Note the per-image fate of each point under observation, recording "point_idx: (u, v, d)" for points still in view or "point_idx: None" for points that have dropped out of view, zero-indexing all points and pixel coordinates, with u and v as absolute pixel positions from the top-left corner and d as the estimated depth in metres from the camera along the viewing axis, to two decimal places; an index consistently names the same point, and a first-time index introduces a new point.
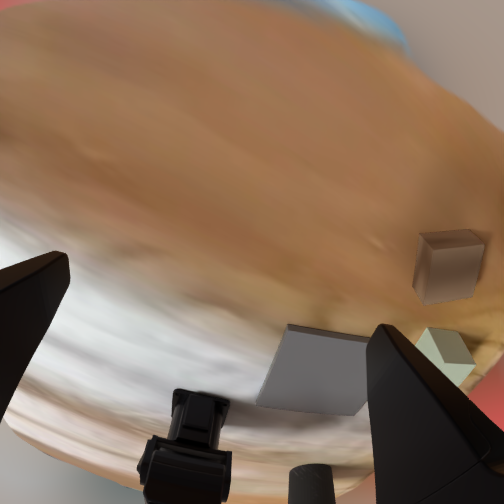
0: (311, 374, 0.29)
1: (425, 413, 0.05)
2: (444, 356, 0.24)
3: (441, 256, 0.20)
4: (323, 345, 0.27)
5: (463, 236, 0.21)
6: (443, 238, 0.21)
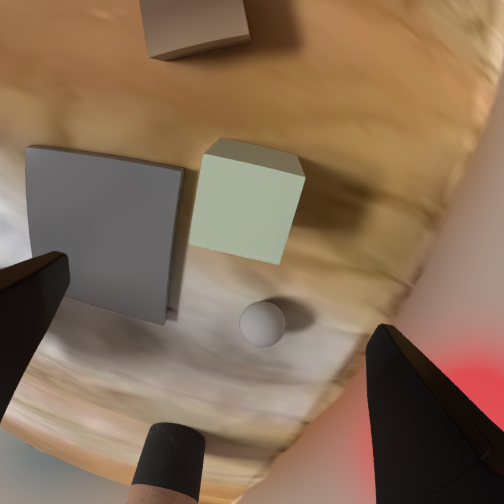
0: (67, 224, 0.20)
1: (425, 413, 0.05)
2: (216, 151, 0.14)
3: None
4: (62, 167, 0.18)
5: None
6: None
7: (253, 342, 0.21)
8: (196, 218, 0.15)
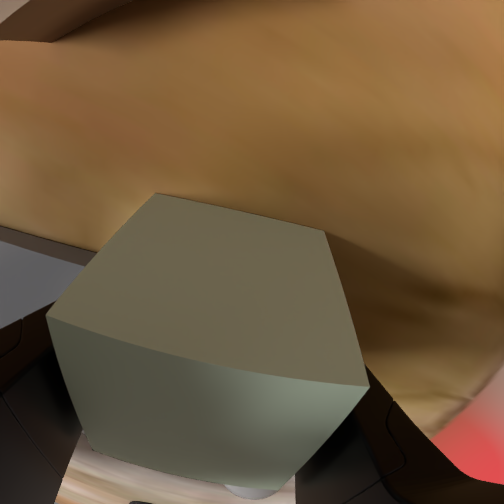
0: None
1: None
2: (97, 286, 0.04)
3: None
4: None
5: None
6: None
7: None
8: (89, 426, 0.05)
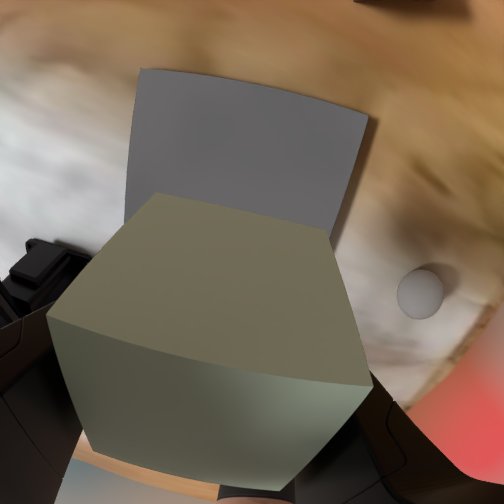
0: (194, 172, 0.17)
1: None
2: (99, 285, 0.04)
3: None
4: (202, 95, 0.15)
5: None
6: None
7: (419, 313, 0.17)
8: (89, 427, 0.05)
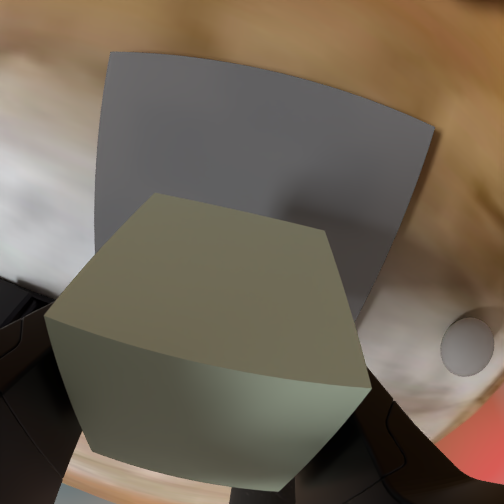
0: None
1: None
2: (96, 286, 0.04)
3: None
4: (200, 88, 0.10)
5: None
6: None
7: (467, 372, 0.12)
8: (88, 428, 0.05)
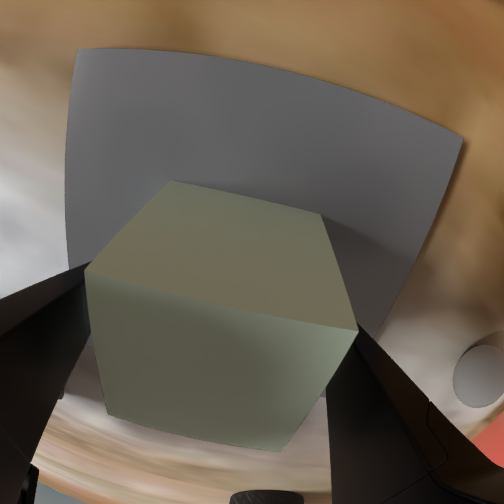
0: None
1: (377, 413, 0.05)
2: (128, 249, 0.05)
3: None
4: (181, 89, 0.08)
5: None
6: None
7: (481, 404, 0.11)
8: (108, 386, 0.06)
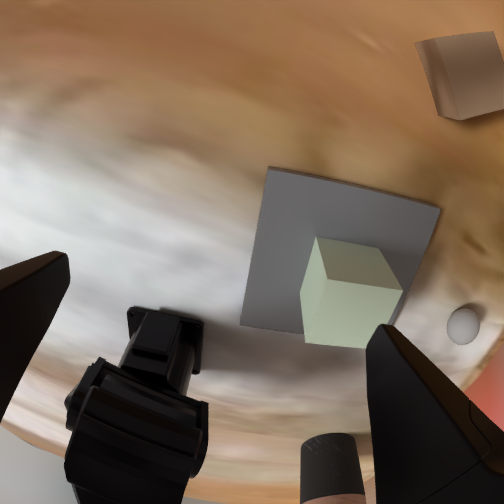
0: None
1: (425, 413, 0.05)
2: (332, 271, 0.17)
3: (449, 46, 0.12)
4: (324, 197, 0.19)
5: None
6: None
7: (463, 341, 0.21)
8: (315, 324, 0.17)
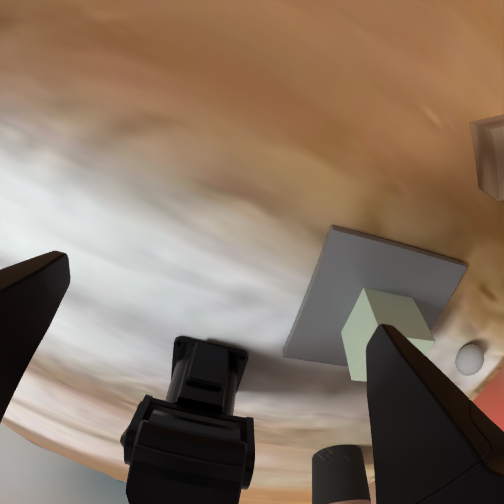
0: None
1: (425, 413, 0.05)
2: None
3: (501, 136, 0.14)
4: (376, 256, 0.21)
5: None
6: (495, 121, 0.15)
7: (469, 373, 0.24)
8: (362, 367, 0.19)
